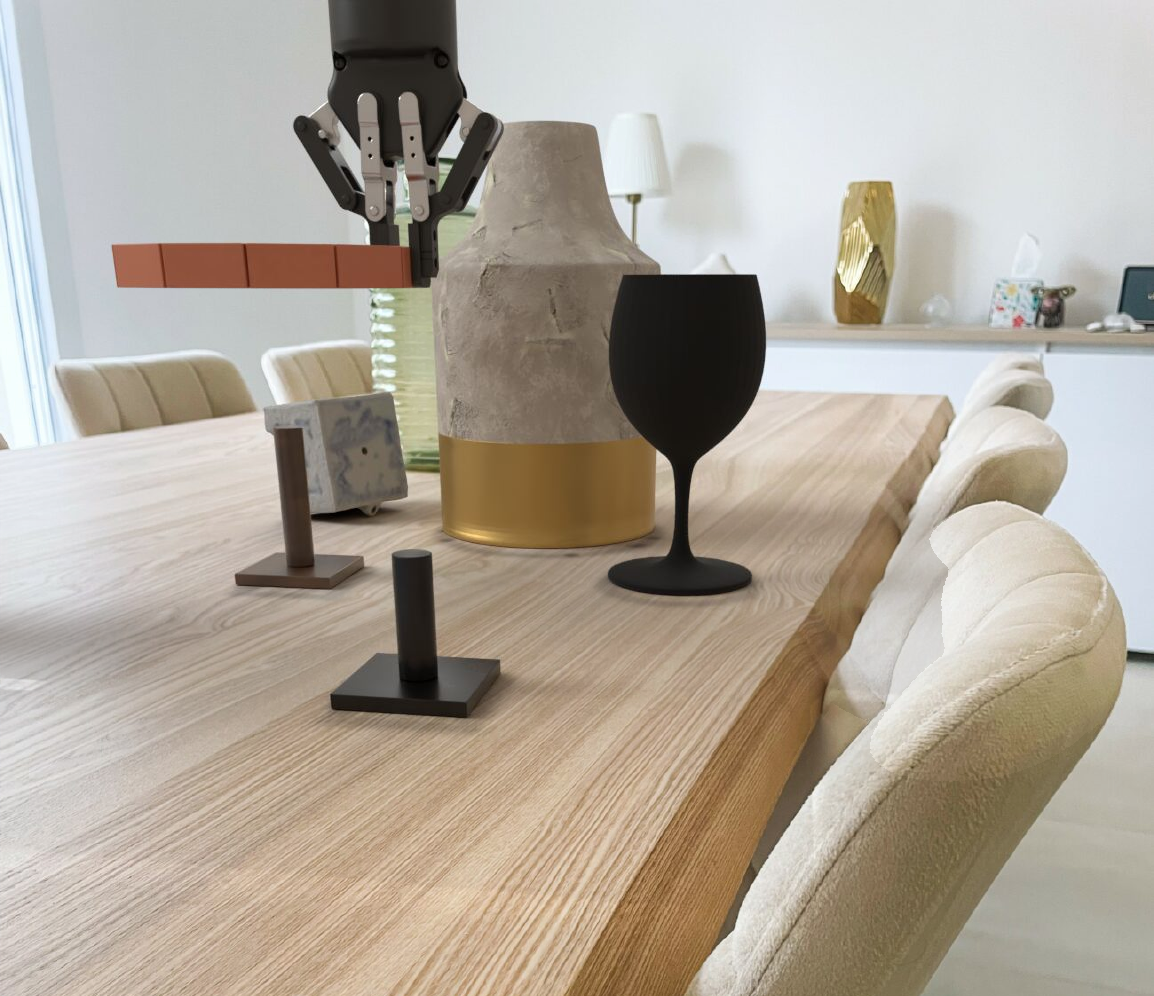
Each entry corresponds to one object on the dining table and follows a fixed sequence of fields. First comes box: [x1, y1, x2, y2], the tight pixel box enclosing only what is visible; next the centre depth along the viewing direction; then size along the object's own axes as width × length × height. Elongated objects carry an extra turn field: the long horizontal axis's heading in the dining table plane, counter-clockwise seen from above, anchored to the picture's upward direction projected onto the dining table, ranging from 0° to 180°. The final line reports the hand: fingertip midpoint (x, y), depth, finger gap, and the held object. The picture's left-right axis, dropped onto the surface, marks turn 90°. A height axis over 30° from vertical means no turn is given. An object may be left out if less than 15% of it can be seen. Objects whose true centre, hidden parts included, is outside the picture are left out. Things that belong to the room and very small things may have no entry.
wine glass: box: [607, 273, 767, 596], centre depth 79 cm, size 10×10×20 cm
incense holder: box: [262, 391, 409, 517], centre depth 104 cm, size 10×8×10 cm
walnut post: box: [234, 425, 365, 590], centre depth 81 cm, size 7×7×10 cm
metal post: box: [329, 548, 501, 718], centre depth 59 cm, size 7×7×7 cm
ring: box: [111, 242, 414, 290], centre depth 75 cm, size 19×19×2 cm
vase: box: [430, 120, 662, 549], centre depth 94 cm, size 18×18×30 cm
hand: (406, 286), depth 74 cm, fingers closed on ring, 1 cm apart
